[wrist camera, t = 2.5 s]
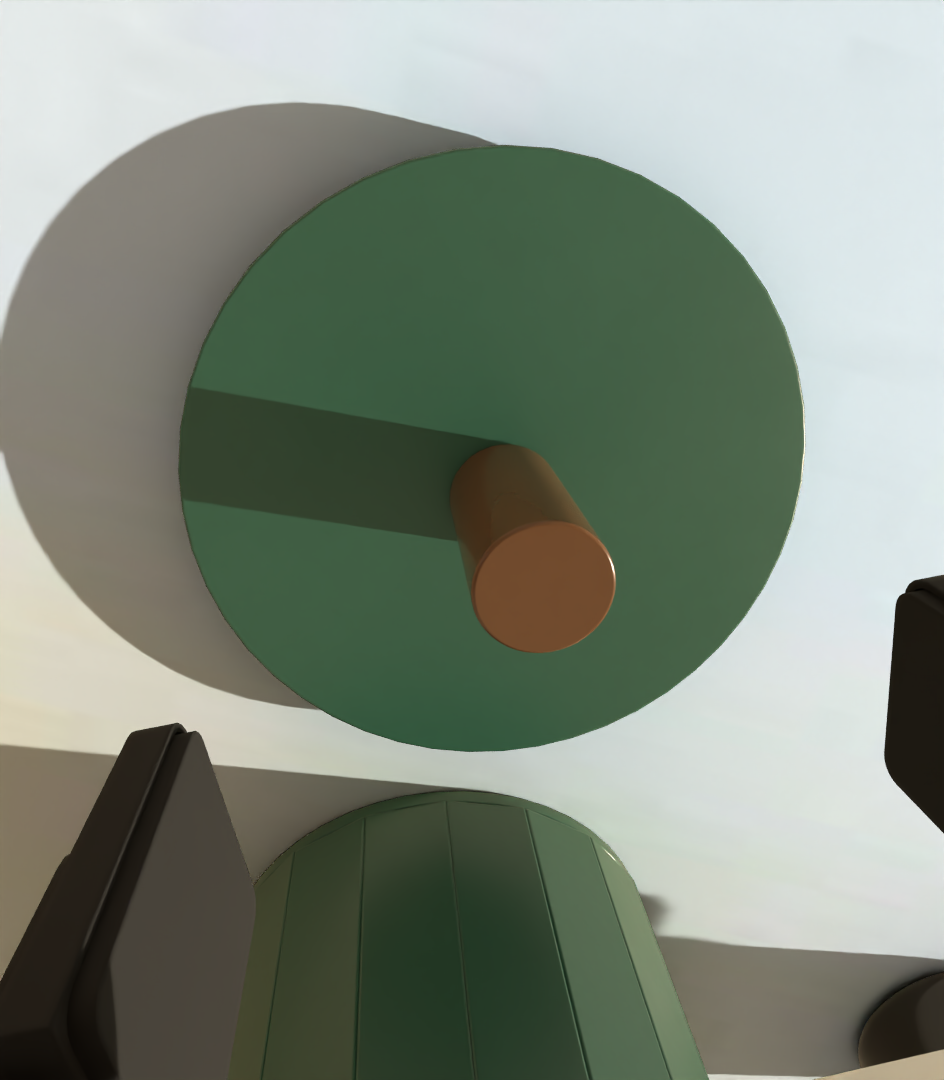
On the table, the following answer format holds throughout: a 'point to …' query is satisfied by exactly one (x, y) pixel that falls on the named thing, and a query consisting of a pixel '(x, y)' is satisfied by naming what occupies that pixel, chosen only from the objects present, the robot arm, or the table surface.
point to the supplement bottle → (905, 1024)
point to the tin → (456, 953)
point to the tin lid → (491, 448)
